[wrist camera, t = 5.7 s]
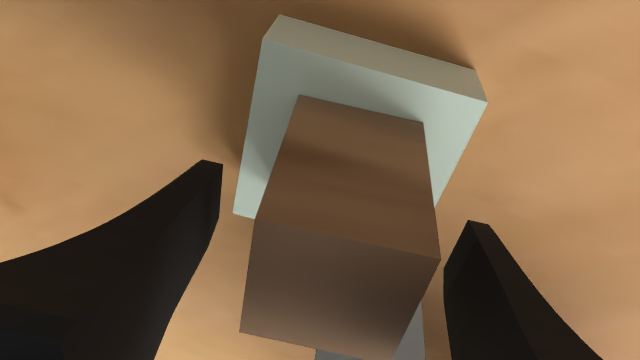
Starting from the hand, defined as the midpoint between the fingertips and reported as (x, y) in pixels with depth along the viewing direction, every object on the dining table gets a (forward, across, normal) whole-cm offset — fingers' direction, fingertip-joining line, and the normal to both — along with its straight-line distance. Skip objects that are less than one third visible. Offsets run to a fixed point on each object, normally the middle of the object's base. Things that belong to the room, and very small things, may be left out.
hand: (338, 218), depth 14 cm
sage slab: (+6, 0, 0) cm, 6 cm away
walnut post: (+3, 0, 0) cm, 3 cm away
